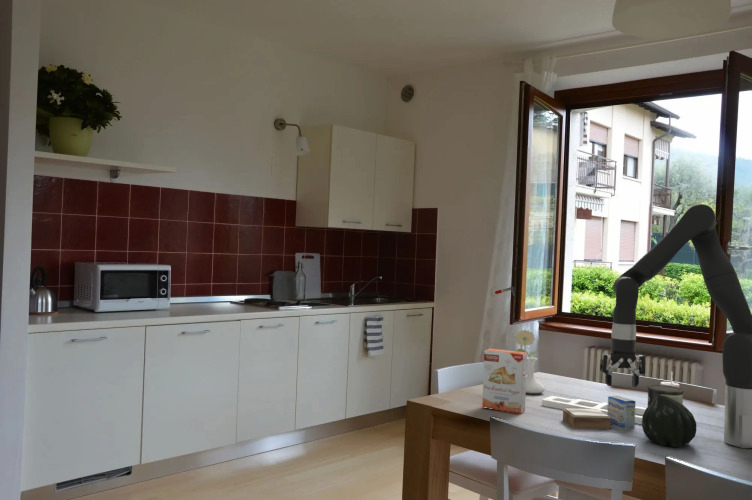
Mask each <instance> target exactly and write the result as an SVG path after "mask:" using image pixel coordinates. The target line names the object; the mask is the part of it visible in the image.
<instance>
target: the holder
mask: <svg viewBox="0 0 752 500" xmlns="http://www.w3.org/2000/svg"><path fill="white" fill-rule="evenodd" d="M543 405H544V406H543ZM541 406H543V407H548V406H549V408H553V409H558V408H559V410H565V408H572V409H598V410H600V411H601V412H603V413H605V414H606V415H607V412H608V402H605V401H603V402H598V401H597V402H596V401H591V400H586V399H580V398H577V399H572V398H567V397H561V396H556V395H550V396H548V397H544V398H542V399H541ZM646 408H647V407H641V406H636V405H635V424H638V425H642V417H643V414H644V412H645V410H646Z"/></svg>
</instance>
